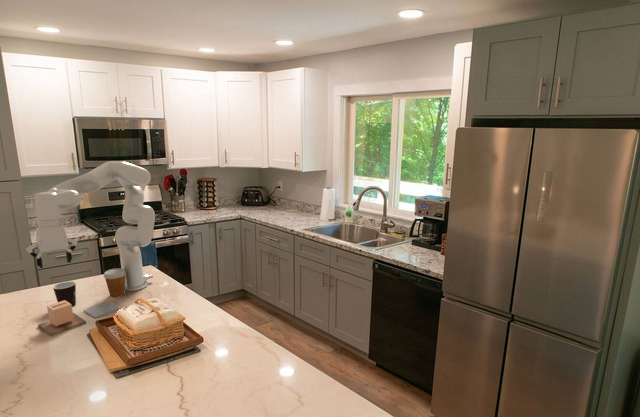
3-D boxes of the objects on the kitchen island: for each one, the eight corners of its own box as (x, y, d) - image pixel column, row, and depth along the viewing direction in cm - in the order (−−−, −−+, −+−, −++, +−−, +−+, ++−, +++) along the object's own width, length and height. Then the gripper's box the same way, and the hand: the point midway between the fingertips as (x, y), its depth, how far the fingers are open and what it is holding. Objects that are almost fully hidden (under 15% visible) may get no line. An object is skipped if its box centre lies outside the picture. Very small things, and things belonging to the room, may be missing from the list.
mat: (109, 302, 182) (109, 301, 182) (121, 308, 175) (120, 307, 175) (83, 311, 173) (83, 310, 173) (95, 318, 167) (95, 317, 166)
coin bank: (67, 315, 166) (64, 299, 164) (74, 319, 162) (71, 303, 160) (49, 321, 161) (46, 305, 159) (56, 326, 157) (53, 309, 155)
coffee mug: (70, 309, 175) (67, 288, 173) (51, 309, 175) (48, 289, 173) (86, 298, 186) (83, 278, 184) (68, 298, 187) (65, 278, 184)
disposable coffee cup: (107, 293, 192) (103, 269, 190) (128, 289, 196) (125, 266, 194) (105, 300, 184) (102, 276, 181) (128, 296, 188) (125, 273, 185)
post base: (73, 314, 171) (70, 297, 169) (86, 323, 163) (83, 305, 161) (38, 326, 160) (35, 308, 159) (50, 336, 153) (47, 317, 151)
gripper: (72, 218, 165) (76, 258, 167) (21, 225, 152) (27, 267, 155) (77, 221, 159) (81, 261, 162) (25, 228, 147) (31, 271, 150)
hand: (55, 264), depth 159 cm, fingers open, 9 cm apart
